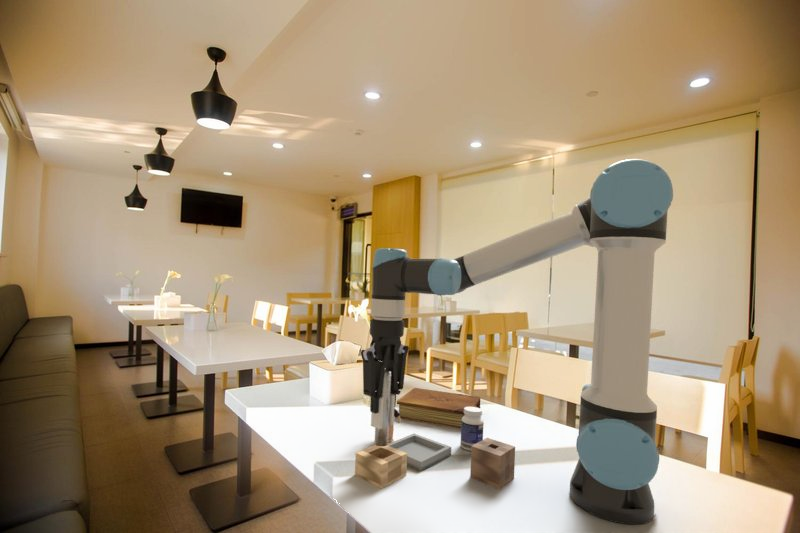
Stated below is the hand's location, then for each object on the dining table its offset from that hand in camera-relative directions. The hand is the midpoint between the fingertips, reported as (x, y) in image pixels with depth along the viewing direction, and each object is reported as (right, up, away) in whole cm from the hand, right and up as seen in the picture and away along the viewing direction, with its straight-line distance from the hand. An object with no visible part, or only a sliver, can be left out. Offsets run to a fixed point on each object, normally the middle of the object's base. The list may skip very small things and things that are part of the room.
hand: (382, 424), depth 91 cm
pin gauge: (0, -4, 0) cm, 4 cm away
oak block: (0, -11, 0) cm, 11 cm away
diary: (+17, -13, +42) cm, 47 cm away
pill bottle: (+23, -13, +17) cm, 31 cm away
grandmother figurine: (0, -12, +19) cm, 22 cm away
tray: (+8, -12, +11) cm, 18 cm away
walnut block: (+24, -12, +1) cm, 27 cm away
